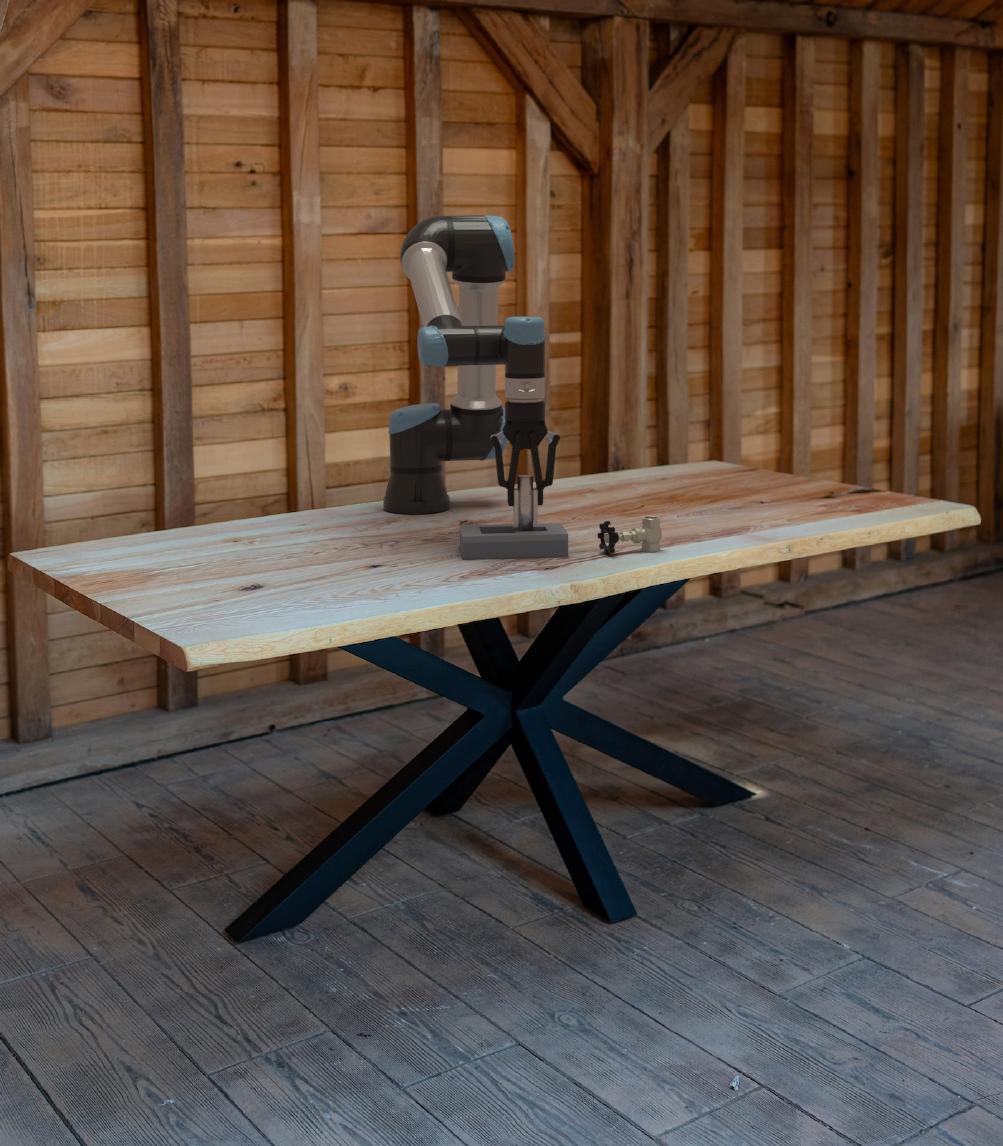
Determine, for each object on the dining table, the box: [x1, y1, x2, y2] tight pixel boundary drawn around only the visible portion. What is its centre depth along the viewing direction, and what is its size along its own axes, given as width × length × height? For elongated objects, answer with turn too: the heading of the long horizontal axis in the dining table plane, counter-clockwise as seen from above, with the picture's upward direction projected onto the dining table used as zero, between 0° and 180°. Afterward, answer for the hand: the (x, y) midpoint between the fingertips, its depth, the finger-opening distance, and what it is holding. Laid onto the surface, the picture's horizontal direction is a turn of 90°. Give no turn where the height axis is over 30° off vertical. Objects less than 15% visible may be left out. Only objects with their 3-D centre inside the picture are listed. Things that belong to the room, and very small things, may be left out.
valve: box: [597, 515, 663, 556], centre depth 259 cm, size 7×7×12 cm
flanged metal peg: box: [516, 474, 534, 532], centre depth 259 cm, size 5×5×14 cm
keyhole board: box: [458, 522, 569, 560], centre depth 260 cm, size 20×11×4 cm, turn 95°
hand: (525, 522), depth 259 cm, fingers closed on flanged metal peg, 3 cm apart
